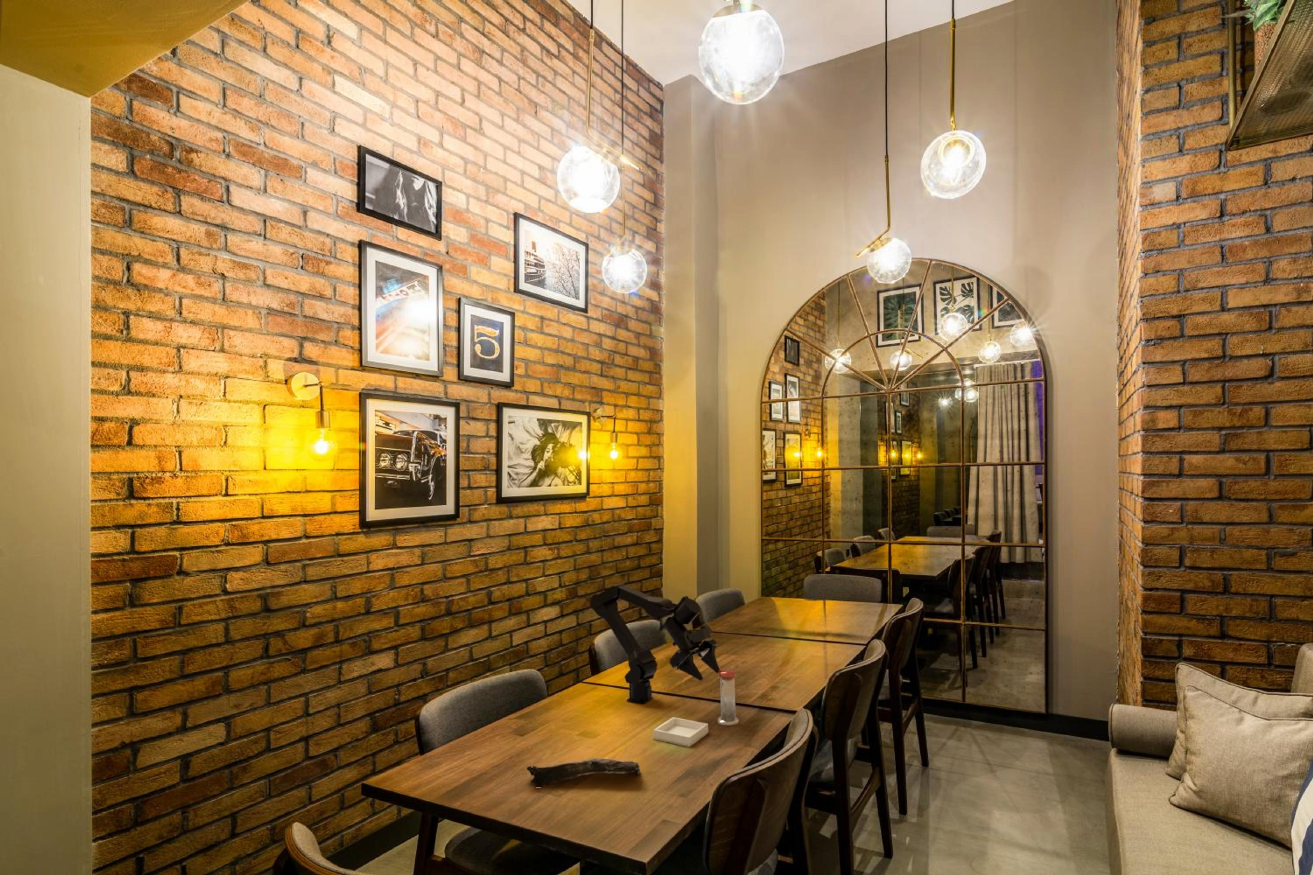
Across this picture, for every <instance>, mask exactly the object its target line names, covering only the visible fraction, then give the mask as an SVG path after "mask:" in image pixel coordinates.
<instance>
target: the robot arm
mask: <svg viewBox="0 0 1313 875" xmlns="http://www.w3.org/2000/svg"><path fill="white" fill-rule="evenodd" d="M619 600H622V601H625V602H627V603H629V604H632V605H634V606H636V607H638V608H640V609H642V610H644V611H645V613H646V615H647V616H649V617H650V618H652V619H654V620H655V621H660V620H663V619H665V621H661V622H659V628H658V631H659V632H664V631H666V633H667V634H668V636H670V639H671V640H672V641H673V642H672V646H673V647H676V646H677V648H678V650H676V651H675V653H674V654H673V655H672V656H671V657H670V658H669V665H670V666H671V668H672V669H676V671H682V672H684V673H685V674H688V675H690V676H691V677H693V678H695V679H697V680H698V681H700V682H701V681H702V680H704V677H703V676H702V674H701V671H700V670H699V667H697V665H696V664H695V662H694V656H698V657H700V660H701V661H702V662H703V663H704V664H705V665H706V666H708V668H710V669H711V670H712V671H714V672H715V673H716V674H718V671H719V670H721V669H720V666H719V664H718V661H717V657H716V655H715V654H716V653H715V651H716V649H717V645H718V643H717V641H716V640H715V639H714V638H712V635H711V634H712V631H713V630H712V628H711V627H710V626H709V625H708V624H704V625H702V626H700V627H699V629H698V630H695V631H694V629H689V628H688V627H687V626H686V625H689V624H691V623H692V622H693V621H694V619H695V618H697V616H698V615H699V614H700V613H701V610H702V609H701V606H700V604H699V602H696V601H695V600H693V599H692V598H689V596H687V595H685V596H684V595H683V596H682V598H681V599H680V600H679V602H678V603H673V601H672V600H671V599H669V598H665V597H659V596H651V595H648V594H646V593H644V592H642V591H639V590H637V589H635V588H632V587H630V586H627V585H626V584H625V583H617V584H613V585H612V586H610V587H609V588H608V589H606V590H604V591H602V592H600V593H598V592H597V593H594V594H593V595H592V596H591V597H590V603H589V605H590V607H591V610H593V611H594V613H595V614H596V615H597V616H599V617H600V618H602V620H603V619H604V620H605V621H606V623H607V624H608V627H609V628H610V630H611V631H612V633H613V635H614V636H615V638H616V640H617V641H618V642H619V644H620V646H621V647H622V649H623V650H624V652H625V654H626V656H627V660H628V662H627V664H628V667H629V669H630V670H629V671H628V672H627V673H626V674H625V675H624V679H625V682H626V684H628V688H629V689H628V692H629V693H628V694H629V697H628V698H627V699H626V702H630V703H634V704H635V703H636V704H639V705H644V704H646V703H648V702H650V701H651V700H653V699H654V697H653V696H652V695H653V694H652V693H653V692H652V691H653V690H652V689H653V688H652V685H651V680H653V679H654V677H655V674H656V673H657V669H658V663H657V661H656V660H657V658H656V657H655V656H654V655H653V653H652V650H651V649H650V648H647V649H644V648H642V647H641V646H640V645H639V643H638V641H637V639H636V638H635V637H634V635H633V633H632V632H631V630H630V628H629V627H628V625H627V624H626V622H625V621H624V619H623V618H622V616H621V614H620V613H619V604H618V601H619Z"/></svg>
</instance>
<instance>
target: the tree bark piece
mask: <svg viewBox="0 0 1313 875" xmlns="http://www.w3.org/2000/svg"><path fill="white" fill-rule="evenodd" d="M526 770H527V771H528V772H529V773H530V777H532V776H533V778H532V780H531V781H530V783H532V784H534V786H535V788H536V787H543V786H544V785H546V784H547V785H552V784H554V783H555V782H556V783H557V782H561V781H565V780H566V781H567V780H571V779H577V778H578V777H580V776H586V775H587V776H588V775H596V774H601V773H602V774H605V773H606V774H619V775H620V774H630V773H632V774H634V773H635V772H637V776H640V773H641V768H640V765H639V763H638V762H637V761H631V760H630V761H629V760H628V761H623V760H616V759H611V758H599V757H594V758H590V759H586V760H581V761H572V762H571V761H570V762H566V763H560V764H556V765H552V766H545V767H542V766H541V767H540V766H539V767H537V766H535V765H529V766H527V767H526Z"/></svg>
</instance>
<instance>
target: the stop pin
mask: <svg viewBox="0 0 1313 875" xmlns="http://www.w3.org/2000/svg"><path fill="white" fill-rule="evenodd" d="M717 674H718V677H719V682H720V688H719V689H720V716H719V717H718V718H717V723H718V724H719V725H721V726H725V727H726V726H727V727H733V726H736V725H738V724H739V722H740V721H739V718H738V717H737V716H736V688H735V687H736V683H735V682H736V681H735V678H736V677H737V670H736V669H733V668H721V669H720V670H719V671H718V673H717Z"/></svg>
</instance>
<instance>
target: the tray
mask: <svg viewBox="0 0 1313 875" xmlns="http://www.w3.org/2000/svg"><path fill="white" fill-rule="evenodd" d="M652 734H653V735H652V736H653V740H656V741H660V742H663V743H664V742H665V743H668V742H669V744H673V745H679V746H682V747H686V748H690V747H692V746H693V745H694V744H696V743H697V742H699V741H700V740H701V739H702V738H704V737H705V736H706V735H707V734H709V723H705V722H701V721H700V722H699V721H696V720H691V719H685V718H679V717H675V716H673V717H671V718H670V719H668V720H666V721H665V722H663V723H662V724H661V725H659V726H657V727H656V728H653V732H652Z"/></svg>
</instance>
